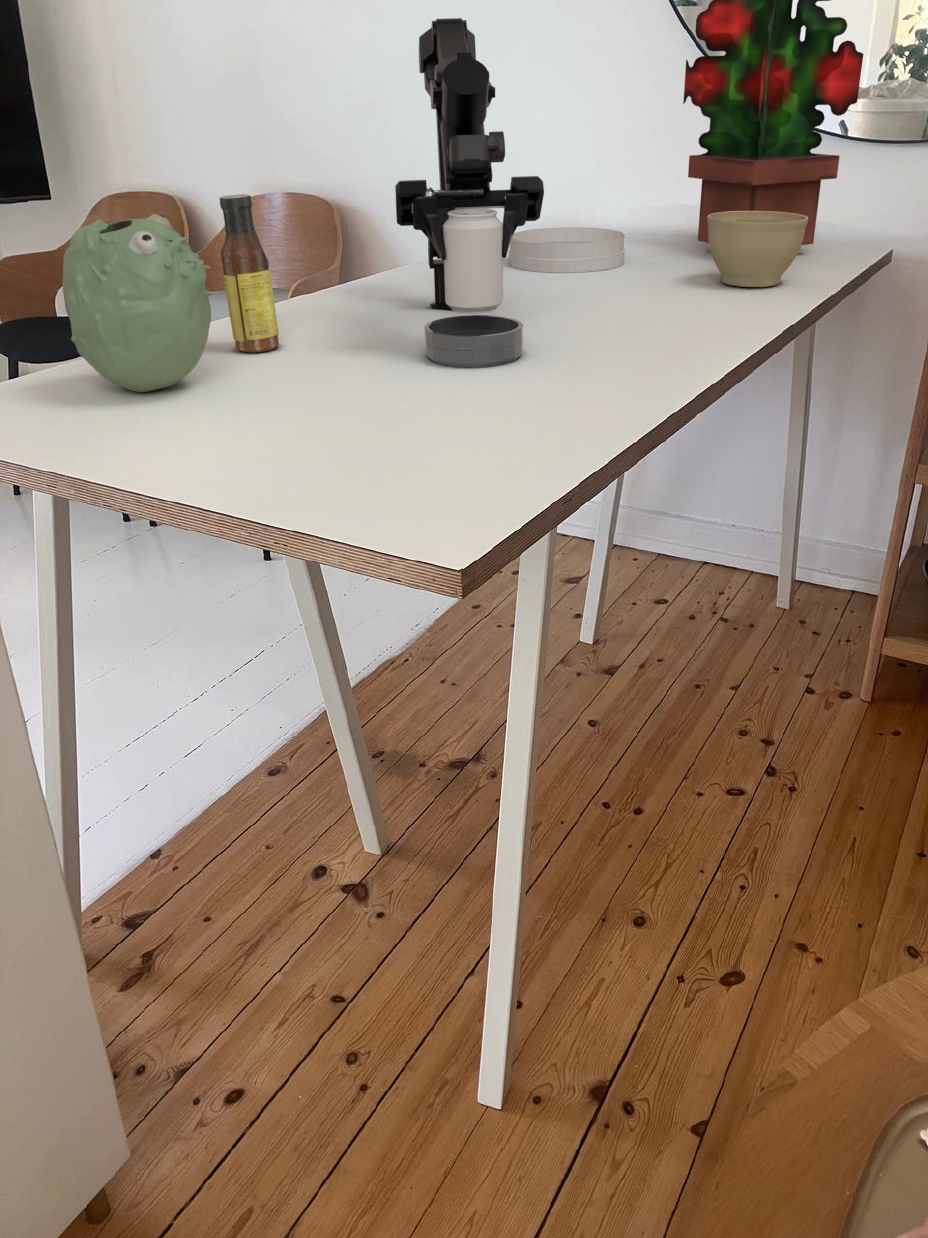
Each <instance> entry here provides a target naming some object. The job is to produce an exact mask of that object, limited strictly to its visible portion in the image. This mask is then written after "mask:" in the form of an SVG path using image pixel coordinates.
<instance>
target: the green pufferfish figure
mask: <svg viewBox="0 0 928 1238" xmlns="http://www.w3.org/2000/svg"><path fill="white" fill-rule="evenodd" d="M172 227H173V226H172V224H171V222H170V220H168V218H166V216H165V215H164V214H157V213H152V214H151V215H150V216H148V217H146V218H129V219H125V220H123V221H116V222H111V223H106V221H105V222H104V221H103V219H100V218H98V219H96V220H95V221H94V222H93V223H91V224H88V225H87V226H84V227H80V228H78V229H76V230H75V231H74V232H73V234H72V236H71V238H70V244H69V245H68V247H67V249H66V250H65V251H64V254H63V263H62V268H63V269H62V276H63V278H62V294H63V299H64V300H63V301H64V308H65V312H66V314H67V317H68V318H69V319H68V320H69V321H70V328H71V334H72V335H71V338H70V341H71V342H72V343H73V344H74V345H75V348H76V351H77V353H78V354H79V355H80V356H81V357H82V359H84V361H86V362H87V364H89V366H91V367H92V368H93V369H94V370H95V371H96V372H97V373H98V374H99V375H100V376H102V377H103V378H104V379H105V380H107V381H108V382H110V383H112V384H115V385H117V386H119V387H121V388H124V389H126V390H130V391H133V392H138V393H148V392H152V391H156V390H161V389H166V388H168V387H171V386H173V385H175V384H177V383H179V382H180V381H182V380H183V379H184V378H185V377H187V376H188V375H189V374H190V373H191V372H192V371H193V370H195V368H196V366H197V365H198V364H199V362H200V360H201V358H202V356H203V354H204V351H205V349H206V346H207V343H208V339H209V331H210V327H211V323H212V307H211V303H210V298H209V297H211V296H214V295H215V292H214V291H211V290H207V289H206V281H207V277H208V276H207V275H208V274H207V272H206V270H210V269H211V268H212V267H211V265H207V264H205V262H204V260H203V259H200V255H199V254H198V253H196V252H194V251H193V250H192V248H191V246H190V244H189V243H188V238H187V237H184V236H181V235H180V233H179V232H178V231H176V230H175V229H173V228H172Z"/></svg>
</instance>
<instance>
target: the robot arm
mask: <svg viewBox="0 0 928 1238" xmlns="http://www.w3.org/2000/svg"><path fill="white" fill-rule="evenodd" d="M418 69H419V74H423V81H424V89H425V91H426V93H427V94H428V96H429V97H430V109H431V110H435V114H436V115H435V118H436V119H435V120H436V136H437V156H438V157H437V158H438V159H437V160H438V175H439V176H438V177H439V189H433V188H432V187H430V186H428V185H427V180H426V179H413V180H407V179H406V180H404V179H403V180H399V181H398V182H397V183H396V184H395V185H394V189H395V213H396V215H395V216H396V224H397V225H399V226H400V227H409V226H410V227H411V226H412V227H413V229H414V230H416V231H421V232H422V233H423V234H424V236H425V237H426V238H427V257H428V266H429V269H430V270H433V283H434V302H432V303H430V304H429V307H430V308H432V309H433V308H435V309H445V310H447V309H448V310H452V309H451V307H449V306H448V305H447V304H446V302H445V277H444V260H445V244H444V239H443V225H444V223H445V222H446V221H447V220H448V218H449V215H448V214H447V213H448V212H449V211H453V210H459V209H503V217H502V224H503V243H502V250H503V259H506V258H507V256H508V253H509V250H510V241H511V238H512V236H513V234H514V233H516V231H517V228H518V227H523V226H524V225H525V224H526V222H536V221H538V220H539V219H541V212H542V207H543V201H544V197H545V196H544V195H545V185H544V181H543V180H542V178H541V177H540V176H539V175H527V176H525V175H524V176H523V175H522V176H511V178H510V187H509V189H491V184H490V183H493V169H492V163H504V161H505V158H506V141H505V140H506V139H505V134H504V131H503V130H501V131H489V132H488V134H486V133H485V123H484V122H485V121H486V119H487V115H488V114H487V113H488V108H489V107H490V105H491V103H492V100H493V98H496V86H493V85H492V83H491V82H490V71H489V70H488V69H487V67H486V66H485V65H484V64H483V63H482V62H480V61H479V60H477V51H476V35H475V34H474V33H473V32H472V31H471V30H469V29H468V23H467V20H466V19H463V18H462V17H457V18H455V17H453V18H449V17H448V18H436V19H435V20H431V27H430V28H429V29H427V30H426V31H425V32H424V33H422V34H421V35H419V37H418ZM434 258H436V259H434Z"/></svg>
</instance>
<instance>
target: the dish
mask: <svg viewBox="0 0 928 1238" xmlns="http://www.w3.org/2000/svg"><path fill="white" fill-rule="evenodd" d="M624 246H625V233H623V232H622V231H619V230H615V229H608V228H602V227H601V228H598V227H582V226H581V227H580V226H577V227H574V226H572V227H568V226H567V227H565V226H563V227H546V228H544V227H543V228H534V229H527V230H522V231H517V232H514V234H513V236H512V238H511V241H510V245H509V250H508V264H509V267H512V268H514V269H517V270H523V271H527V272H537V273H552V274H553V273H554V274H555V273H557V274H558V273H559V274H561V273H563V274H568V273H569V274H571V273H572V274H573V273H589V272H600V271H606V270H612V269H615V268H618V267H619V268H620V267H621V266H623V265H624V264H625V254H626V253H625V252H626V249H625V247H624Z"/></svg>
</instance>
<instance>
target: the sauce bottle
mask: <svg viewBox="0 0 928 1238" xmlns="http://www.w3.org/2000/svg"><path fill="white" fill-rule="evenodd" d="M219 206H220V208H221V209H220V210H222V214H223V215H222V216H223V221H224V222H223V223H224V231H225V237H224V242H223V244H222V247H221V250H220V259H221V265H222V270H223V273H222V276H223V282H224V288H225V294H226V295H225V296H226V299H227V300H226V302H227V307H228V313H229V320H230V325H231V332H232V339H233V340H234V342H235V343H234V344H235V349H236V350H237V351H238V352H243V353H263V352H269V351H272V350H275V349H276V348H278V347H279V346H280V342H279V333H280V332H279V331H280V330H279V325H278V317H277V311H276V304H275V299H274V290H273V283H272V276H271V269H270V263H269V259H268V257H267V255H266V253H265V251H264V248H263V246H262V243H261V241H260V239H259V236H258V234H257V232H256V229H255V224H254V220H253V211H252V207H253V202H252V195H250V194H244V193H242V194H229V195H228V194H227V195H223V196H219Z"/></svg>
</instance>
